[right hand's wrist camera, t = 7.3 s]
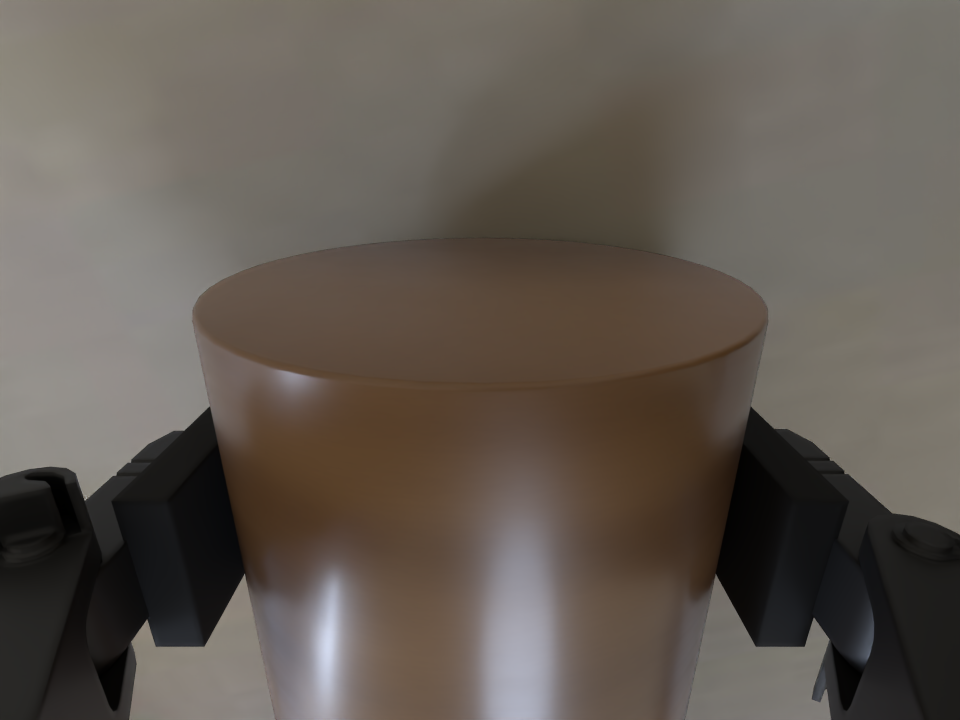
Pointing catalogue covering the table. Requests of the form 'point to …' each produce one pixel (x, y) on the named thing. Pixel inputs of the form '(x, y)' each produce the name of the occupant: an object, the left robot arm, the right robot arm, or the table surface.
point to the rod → (480, 472)
